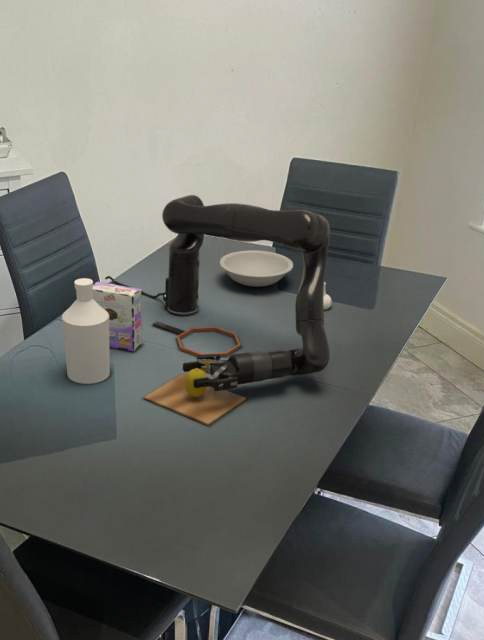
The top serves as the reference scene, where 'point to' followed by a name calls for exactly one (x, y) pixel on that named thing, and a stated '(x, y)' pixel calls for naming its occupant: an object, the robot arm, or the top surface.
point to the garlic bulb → (326, 299)
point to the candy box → (121, 314)
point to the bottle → (86, 337)
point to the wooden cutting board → (194, 401)
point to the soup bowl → (256, 267)
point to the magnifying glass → (183, 333)
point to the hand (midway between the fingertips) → (188, 375)
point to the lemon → (189, 382)
